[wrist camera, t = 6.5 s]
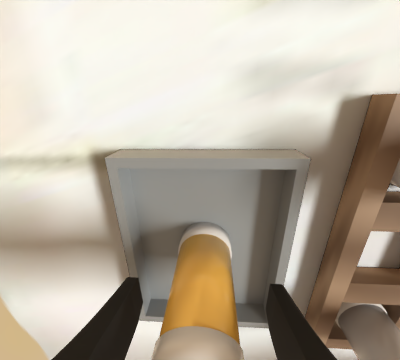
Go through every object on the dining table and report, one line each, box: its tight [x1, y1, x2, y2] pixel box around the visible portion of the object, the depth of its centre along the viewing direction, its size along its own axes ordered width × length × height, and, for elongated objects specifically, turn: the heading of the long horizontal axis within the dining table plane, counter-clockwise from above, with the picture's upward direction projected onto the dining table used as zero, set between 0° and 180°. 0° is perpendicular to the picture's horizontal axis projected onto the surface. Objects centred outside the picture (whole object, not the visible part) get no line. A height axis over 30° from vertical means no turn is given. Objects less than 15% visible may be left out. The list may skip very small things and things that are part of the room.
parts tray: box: [105, 149, 311, 328], centre depth 14 cm, size 14×11×2 cm
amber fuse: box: [152, 222, 244, 360], centre depth 11 cm, size 4×4×8 cm
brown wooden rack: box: [305, 94, 400, 349], centre depth 13 cm, size 20×7×2 cm, turn 1°
